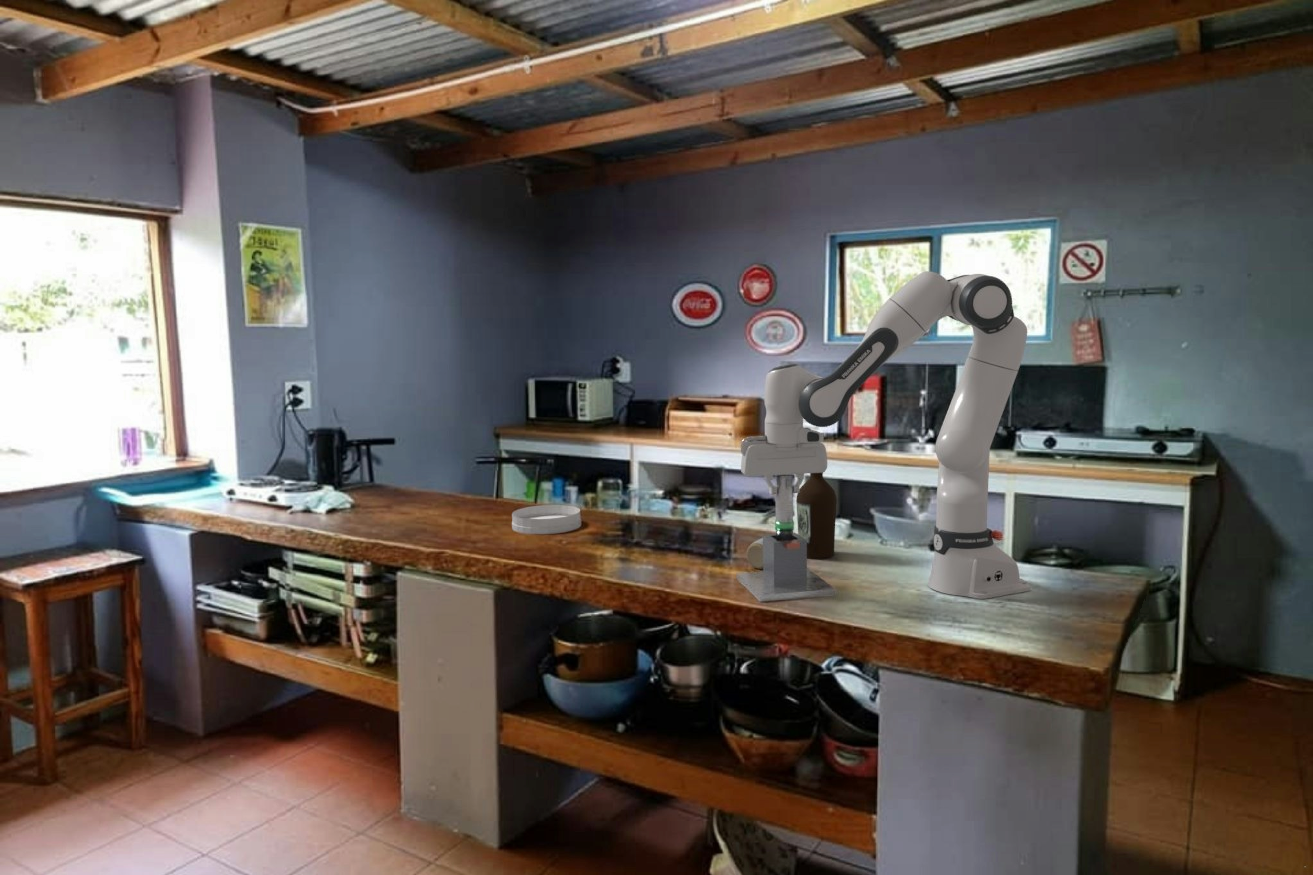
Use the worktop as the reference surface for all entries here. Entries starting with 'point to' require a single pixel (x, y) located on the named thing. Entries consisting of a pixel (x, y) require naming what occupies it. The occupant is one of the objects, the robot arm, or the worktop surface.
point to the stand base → (785, 572)
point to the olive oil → (817, 516)
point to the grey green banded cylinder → (784, 508)
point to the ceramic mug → (756, 554)
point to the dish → (546, 519)
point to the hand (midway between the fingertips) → (784, 493)
